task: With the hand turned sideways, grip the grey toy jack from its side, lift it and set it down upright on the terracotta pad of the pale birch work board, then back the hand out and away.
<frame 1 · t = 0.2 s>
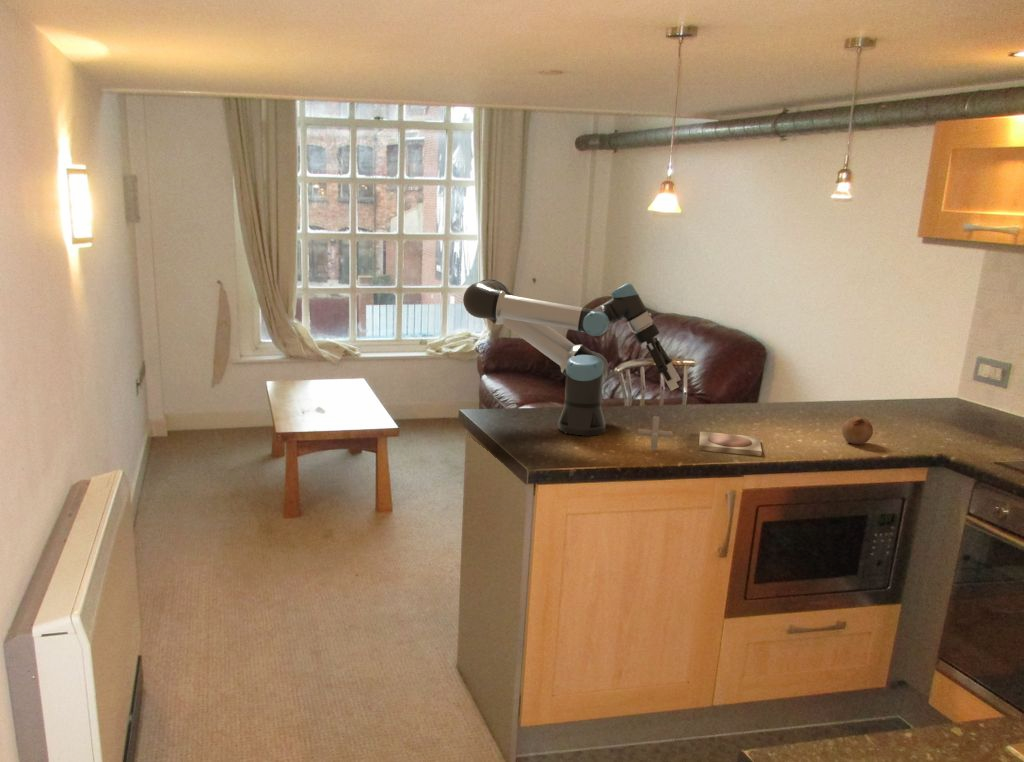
hand: (676, 385, 264), 14 cm above the table, fingers open, 13 cm apart
grey toy jack: (653, 450, 243), on the table
work board: (729, 445, 249), on the table
onion: (855, 443, 256), on the table
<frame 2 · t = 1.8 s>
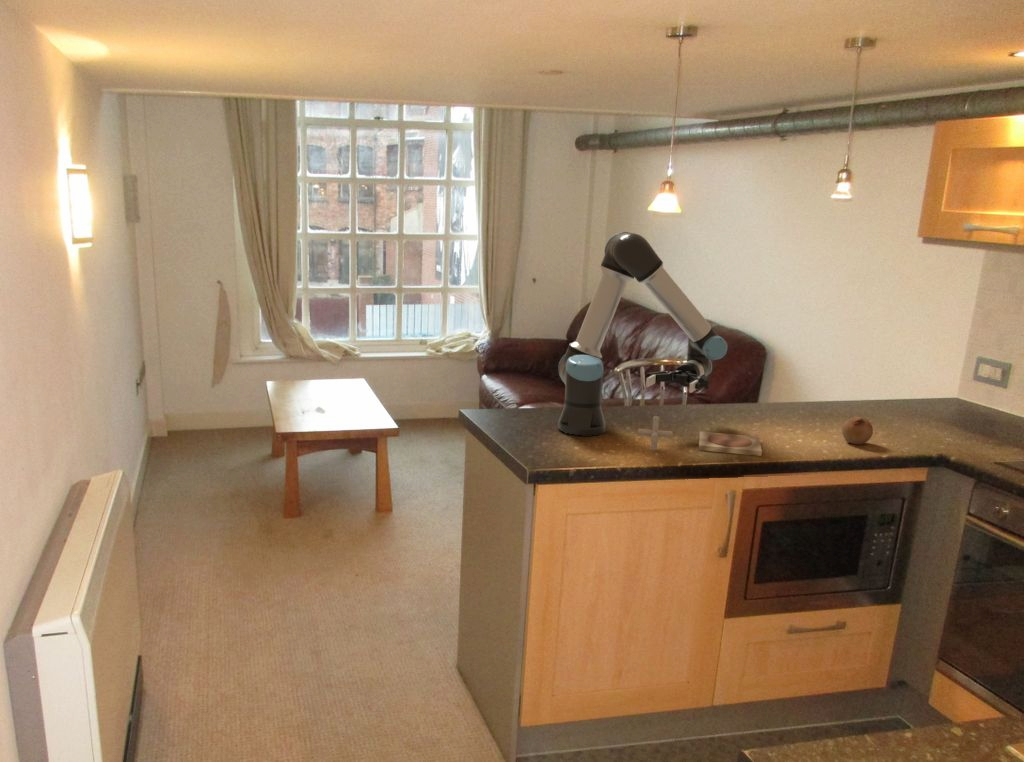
hand: (668, 385, 247), 18 cm above the table, fingers open, 13 cm apart
nothing on the table moved.
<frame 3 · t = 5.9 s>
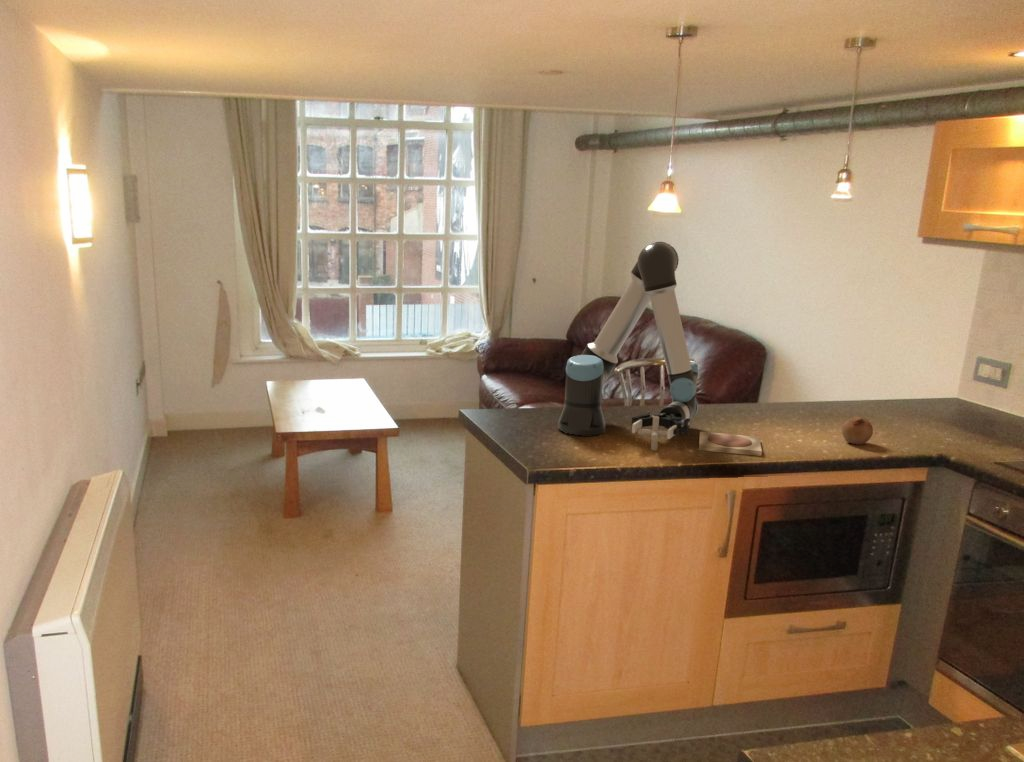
hand: (650, 431, 237), 6 cm above the table, fingers closed on grey toy jack, 10 cm apart
grey toy jack: (653, 449, 243), on the table, touching gripper
everything else where it was.
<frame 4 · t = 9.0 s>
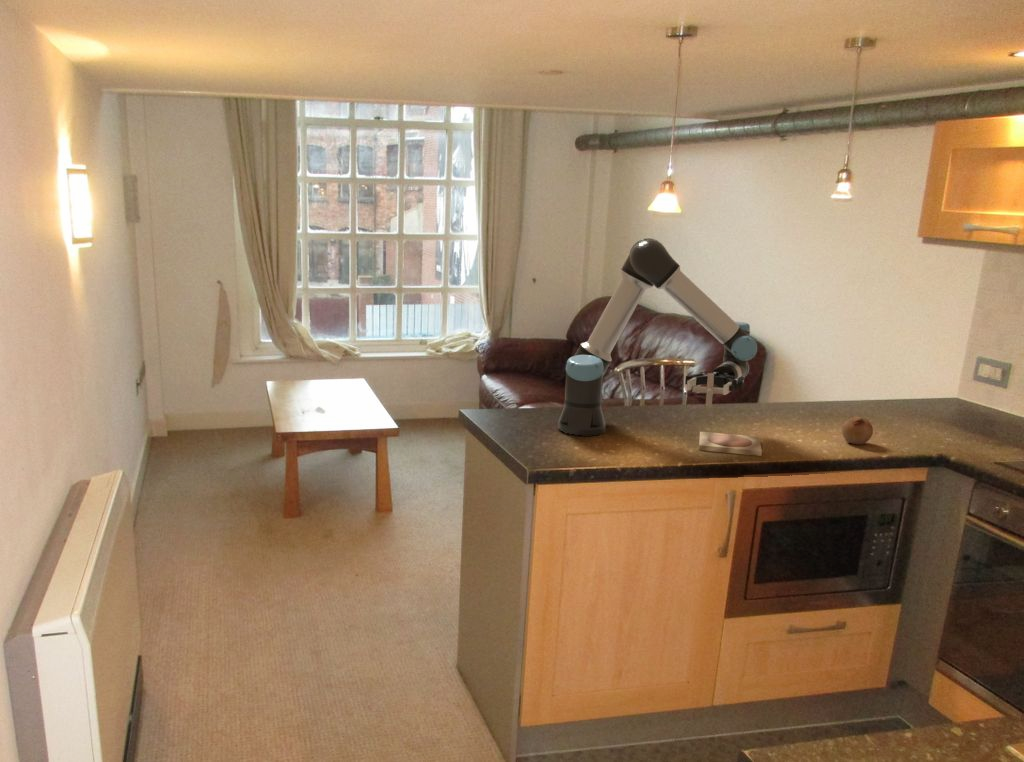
hand: (706, 388, 237), 19 cm above the table, fingers closed on grey toy jack, 10 cm apart
grey toy jack: (708, 407, 242), point 13 cm above the table, touching gripper
everything else where it was.
when the fingers open (10 cm above the table, at t = 12.1 s): grey toy jack drops 1 cm, resting on work board.
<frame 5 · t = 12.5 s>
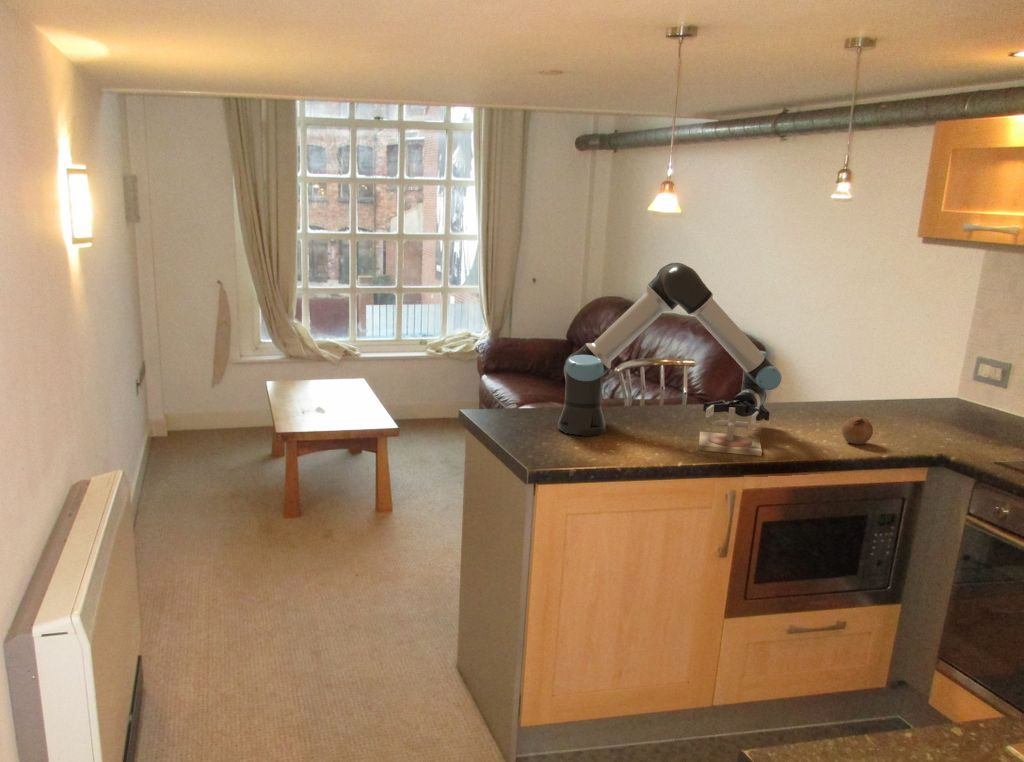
hand: (729, 416, 244), 10 cm above the table, fingers open, 13 cm apart
grey toy jack: (729, 440, 249), point 2 cm above the table, touching work board
everything else where it was.
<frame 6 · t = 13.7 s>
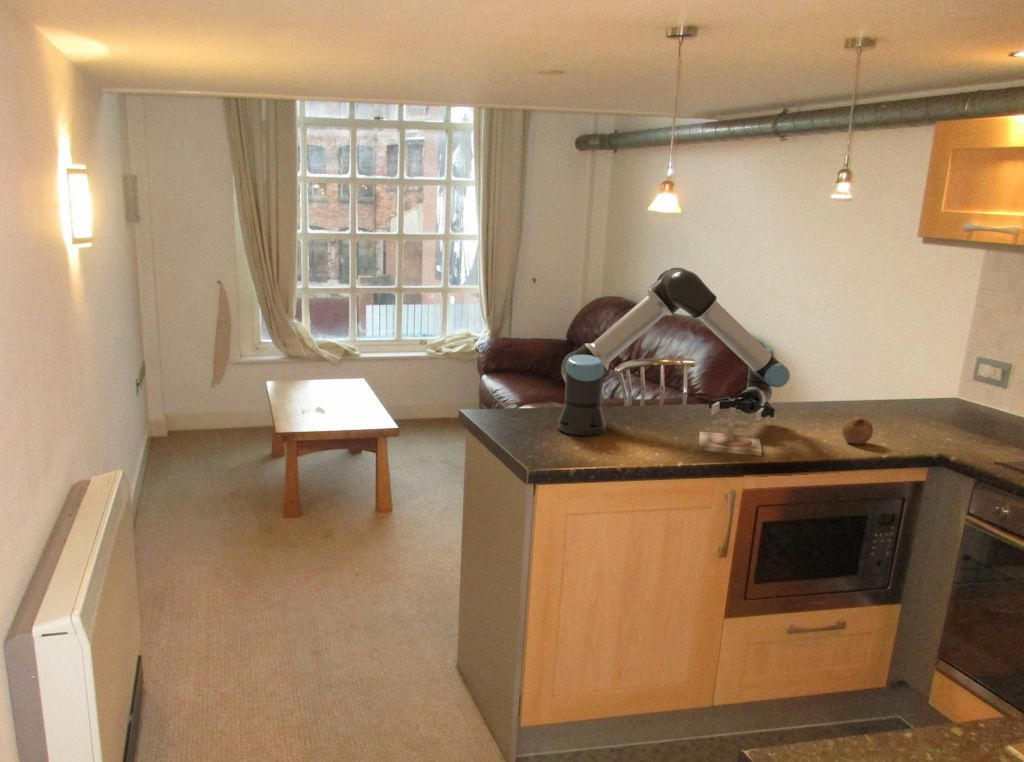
hand: (734, 413, 248), 10 cm above the table, fingers open, 13 cm apart
nothing on the table moved.
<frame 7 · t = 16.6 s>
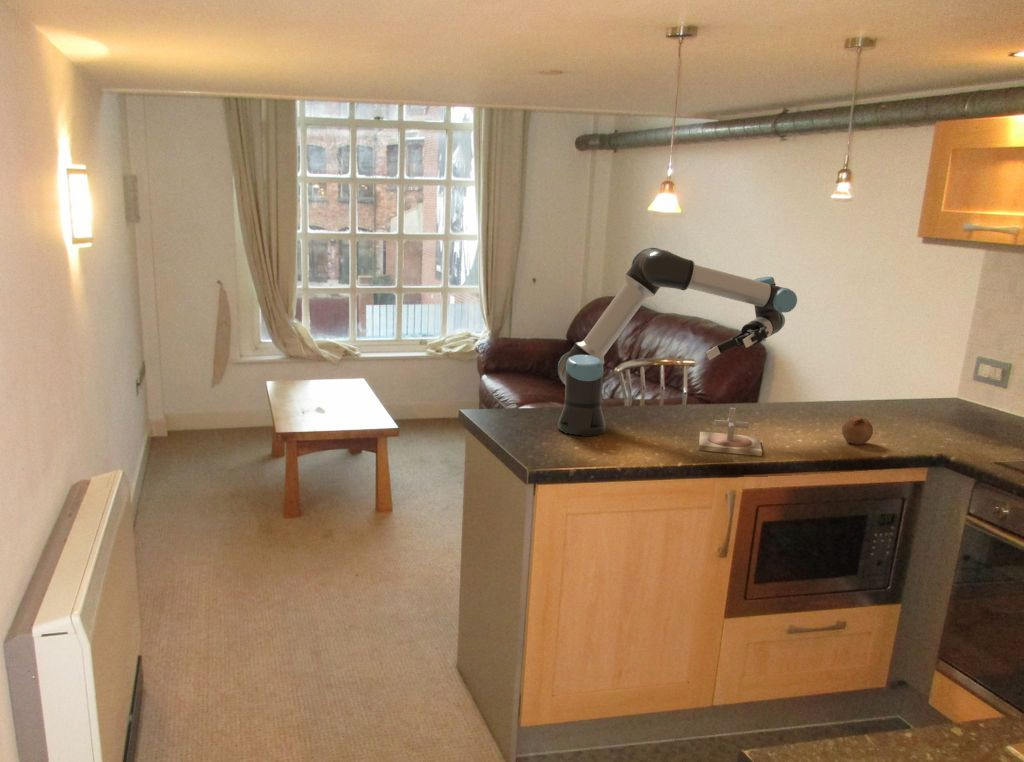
hand: (726, 349, 252), 28 cm above the table, fingers open, 13 cm apart
nothing on the table moved.
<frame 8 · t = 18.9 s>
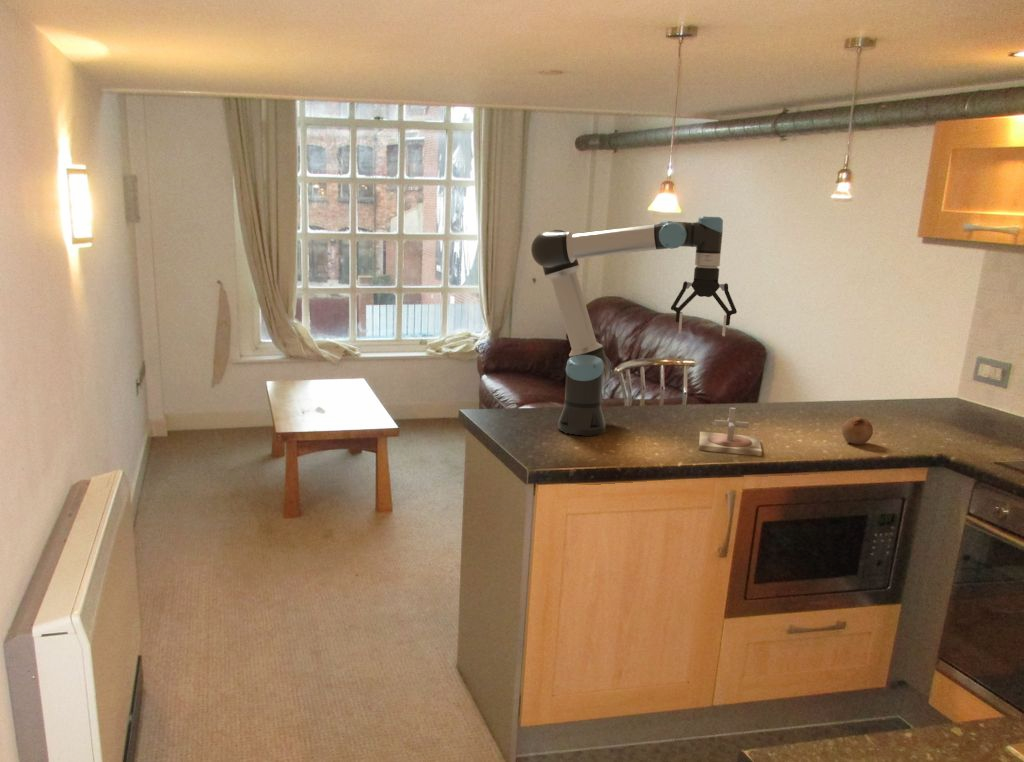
hand: (701, 334, 258), 32 cm above the table, fingers open, 13 cm apart
nothing on the table moved.
at the end: grey toy jack inside the target area on the work board (0.0 cm from its centre), point 1.6 cm above the work board's base; grey toy jack tilted 0°; the gripper is holding nothing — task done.
